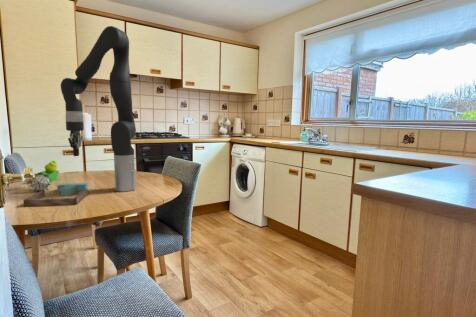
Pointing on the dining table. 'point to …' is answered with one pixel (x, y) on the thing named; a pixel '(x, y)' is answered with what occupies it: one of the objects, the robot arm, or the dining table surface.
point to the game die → (40, 182)
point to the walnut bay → (53, 200)
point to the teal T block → (71, 188)
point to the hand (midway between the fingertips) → (76, 155)
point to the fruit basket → (50, 171)
